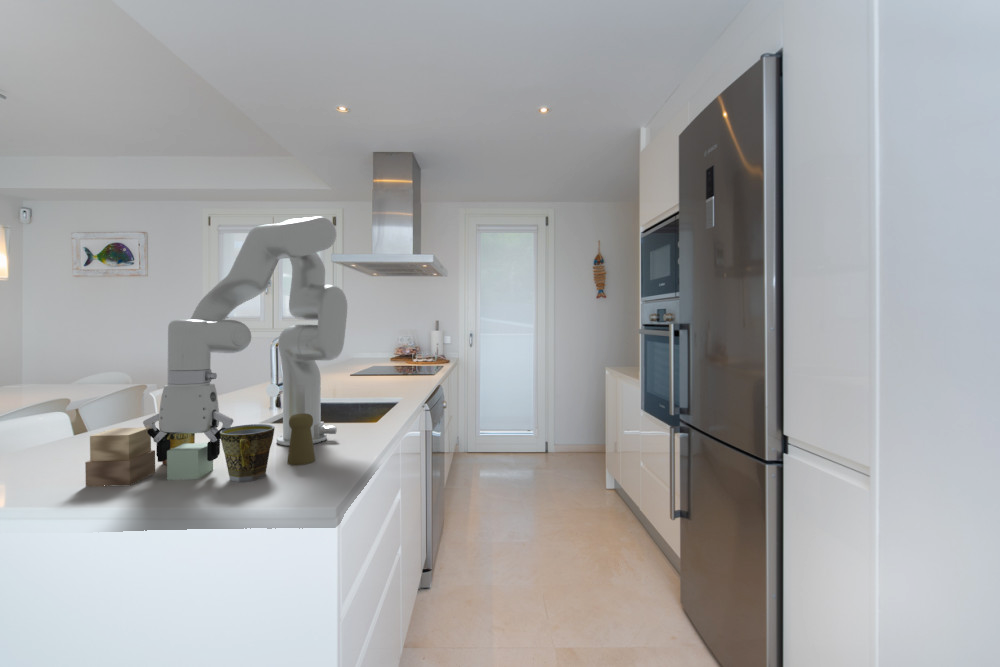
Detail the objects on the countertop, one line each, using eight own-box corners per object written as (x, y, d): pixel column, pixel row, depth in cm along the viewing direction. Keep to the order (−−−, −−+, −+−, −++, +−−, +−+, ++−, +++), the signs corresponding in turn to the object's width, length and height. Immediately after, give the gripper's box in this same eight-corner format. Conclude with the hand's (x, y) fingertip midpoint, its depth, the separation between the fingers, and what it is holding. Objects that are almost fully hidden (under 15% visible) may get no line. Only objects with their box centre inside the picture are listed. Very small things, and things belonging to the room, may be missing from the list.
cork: (320, 458, 112) (319, 411, 112) (307, 465, 106) (306, 416, 106) (295, 457, 112) (295, 411, 112) (281, 464, 106) (281, 416, 106)
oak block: (151, 450, 100) (150, 427, 100) (128, 460, 93) (128, 435, 93) (115, 451, 99) (114, 428, 99) (90, 461, 92) (89, 435, 92)
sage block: (213, 470, 103) (213, 443, 102) (198, 479, 97) (198, 450, 96) (184, 471, 102) (183, 443, 102) (167, 480, 96) (167, 450, 96)
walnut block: (155, 473, 100) (155, 450, 100) (129, 486, 92) (129, 461, 92) (114, 474, 100) (114, 451, 100) (85, 487, 92) (85, 462, 92)
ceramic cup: (225, 472, 101) (225, 425, 101) (276, 467, 104) (276, 422, 104) (212, 492, 89) (212, 439, 89) (271, 486, 92) (270, 435, 92)
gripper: (240, 376, 103) (239, 454, 103) (156, 376, 102) (155, 455, 102) (224, 380, 96) (223, 464, 96) (133, 380, 94) (132, 465, 94)
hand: (188, 459), depth 99 cm, fingers open, 9 cm apart
